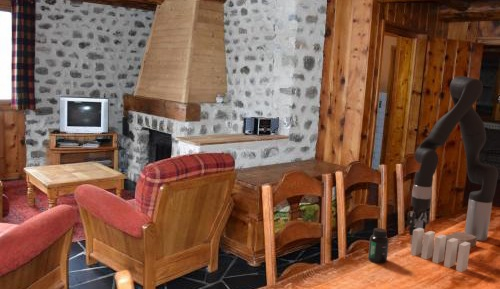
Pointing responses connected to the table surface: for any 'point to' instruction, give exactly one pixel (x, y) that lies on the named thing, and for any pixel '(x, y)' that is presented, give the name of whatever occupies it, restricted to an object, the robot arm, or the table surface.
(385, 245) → the supplement bottle
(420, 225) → the tile
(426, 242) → the tile
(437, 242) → the tile
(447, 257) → the tile
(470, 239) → the brick
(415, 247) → the tile
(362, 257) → the table surface
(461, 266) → the tile
